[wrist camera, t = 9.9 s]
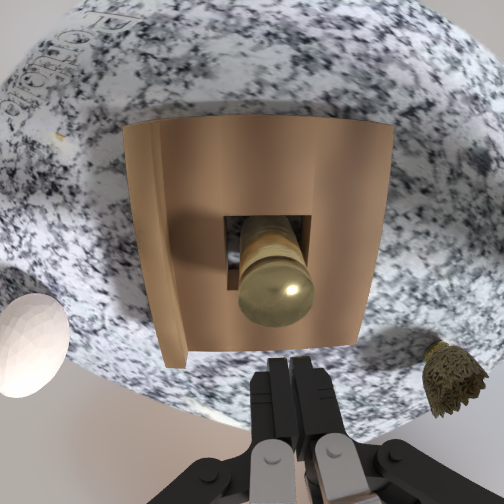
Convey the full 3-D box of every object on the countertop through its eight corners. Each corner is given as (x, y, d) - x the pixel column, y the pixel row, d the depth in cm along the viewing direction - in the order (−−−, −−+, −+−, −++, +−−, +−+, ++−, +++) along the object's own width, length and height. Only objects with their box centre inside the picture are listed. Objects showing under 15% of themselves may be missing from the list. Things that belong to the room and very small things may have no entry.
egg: (20, 268, 24) (-47, 344, 13) (78, 281, 24) (16, 375, 14) (35, 324, 27) (-13, 401, 17) (89, 339, 28) (49, 429, 17)
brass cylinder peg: (295, 209, 22) (319, 264, 15) (292, 259, 24) (310, 326, 17) (239, 209, 22) (237, 265, 15) (240, 259, 24) (238, 328, 17)
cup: (408, 340, 29) (438, 394, 22) (461, 317, 28) (495, 363, 21) (407, 378, 33) (429, 426, 26) (454, 356, 32) (480, 399, 25)
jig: (375, 122, 19) (409, 129, 15) (346, 322, 27) (362, 360, 23) (148, 120, 19) (122, 125, 14) (175, 327, 27) (165, 367, 23)
